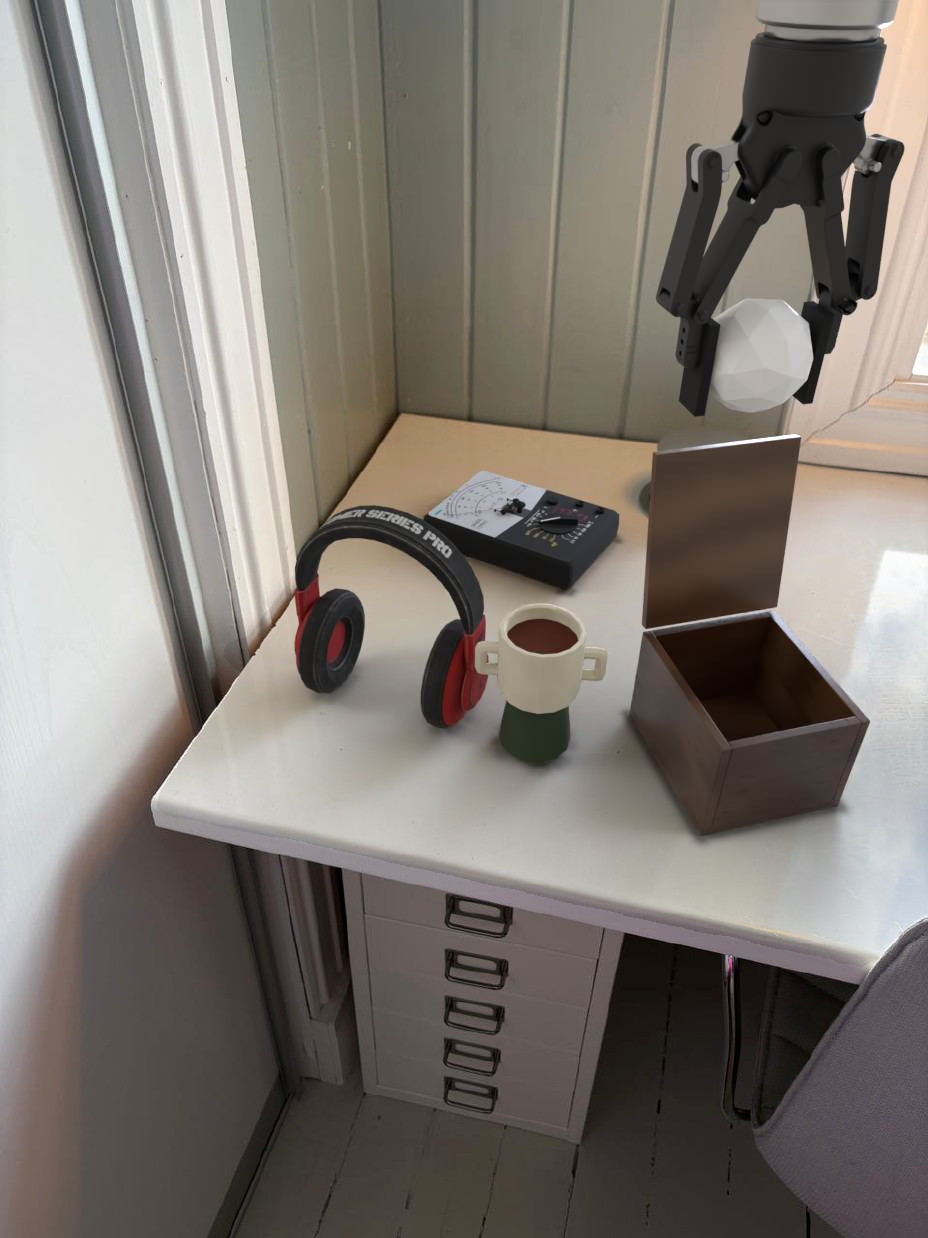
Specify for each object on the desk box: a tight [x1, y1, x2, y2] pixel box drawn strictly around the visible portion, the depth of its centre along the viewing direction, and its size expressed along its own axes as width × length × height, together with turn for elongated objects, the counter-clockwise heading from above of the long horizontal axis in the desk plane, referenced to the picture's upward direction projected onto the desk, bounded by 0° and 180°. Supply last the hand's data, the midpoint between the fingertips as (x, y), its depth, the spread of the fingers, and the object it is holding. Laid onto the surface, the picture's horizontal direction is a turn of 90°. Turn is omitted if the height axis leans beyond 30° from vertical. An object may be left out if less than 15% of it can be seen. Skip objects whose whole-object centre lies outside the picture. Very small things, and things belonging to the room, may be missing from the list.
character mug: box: [475, 602, 609, 765], centre depth 79 cm, size 11×7×13 cm, turn 86°
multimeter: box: [422, 470, 620, 590], centre depth 107 cm, size 13×19×5 cm
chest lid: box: [641, 433, 802, 630], centre depth 77 cm, size 16×13×1 cm
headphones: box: [293, 504, 490, 730], centre depth 81 cm, size 18×10×20 cm, turn 68°
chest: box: [629, 610, 871, 836], centre depth 79 cm, size 15×13×10 cm
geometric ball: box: [708, 297, 813, 414], centre depth 65 cm, size 8×8×8 cm
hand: (745, 401), depth 67 cm, fingers closed on geometric ball, 8 cm apart
